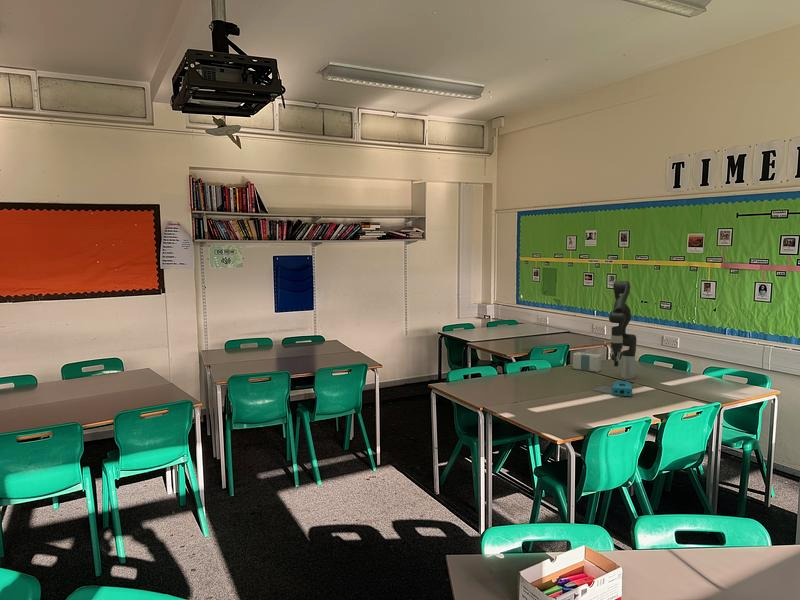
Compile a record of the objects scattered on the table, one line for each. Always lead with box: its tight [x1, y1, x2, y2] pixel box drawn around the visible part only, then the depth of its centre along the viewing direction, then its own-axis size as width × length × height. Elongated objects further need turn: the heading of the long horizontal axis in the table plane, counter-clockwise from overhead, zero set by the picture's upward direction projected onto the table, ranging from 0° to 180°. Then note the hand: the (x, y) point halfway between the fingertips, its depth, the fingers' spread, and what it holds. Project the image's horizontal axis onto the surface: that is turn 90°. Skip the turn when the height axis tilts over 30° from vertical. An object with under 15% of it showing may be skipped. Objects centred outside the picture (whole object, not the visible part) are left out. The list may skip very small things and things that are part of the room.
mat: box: [591, 385, 617, 396], centre depth 381 cm, size 15×18×1 cm
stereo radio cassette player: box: [572, 346, 602, 373], centre depth 442 cm, size 21×8×20 cm, turn 50°
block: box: [612, 380, 633, 397], centre depth 375 cm, size 12×5×20 cm
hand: (616, 366), depth 383 cm, fingers closed
